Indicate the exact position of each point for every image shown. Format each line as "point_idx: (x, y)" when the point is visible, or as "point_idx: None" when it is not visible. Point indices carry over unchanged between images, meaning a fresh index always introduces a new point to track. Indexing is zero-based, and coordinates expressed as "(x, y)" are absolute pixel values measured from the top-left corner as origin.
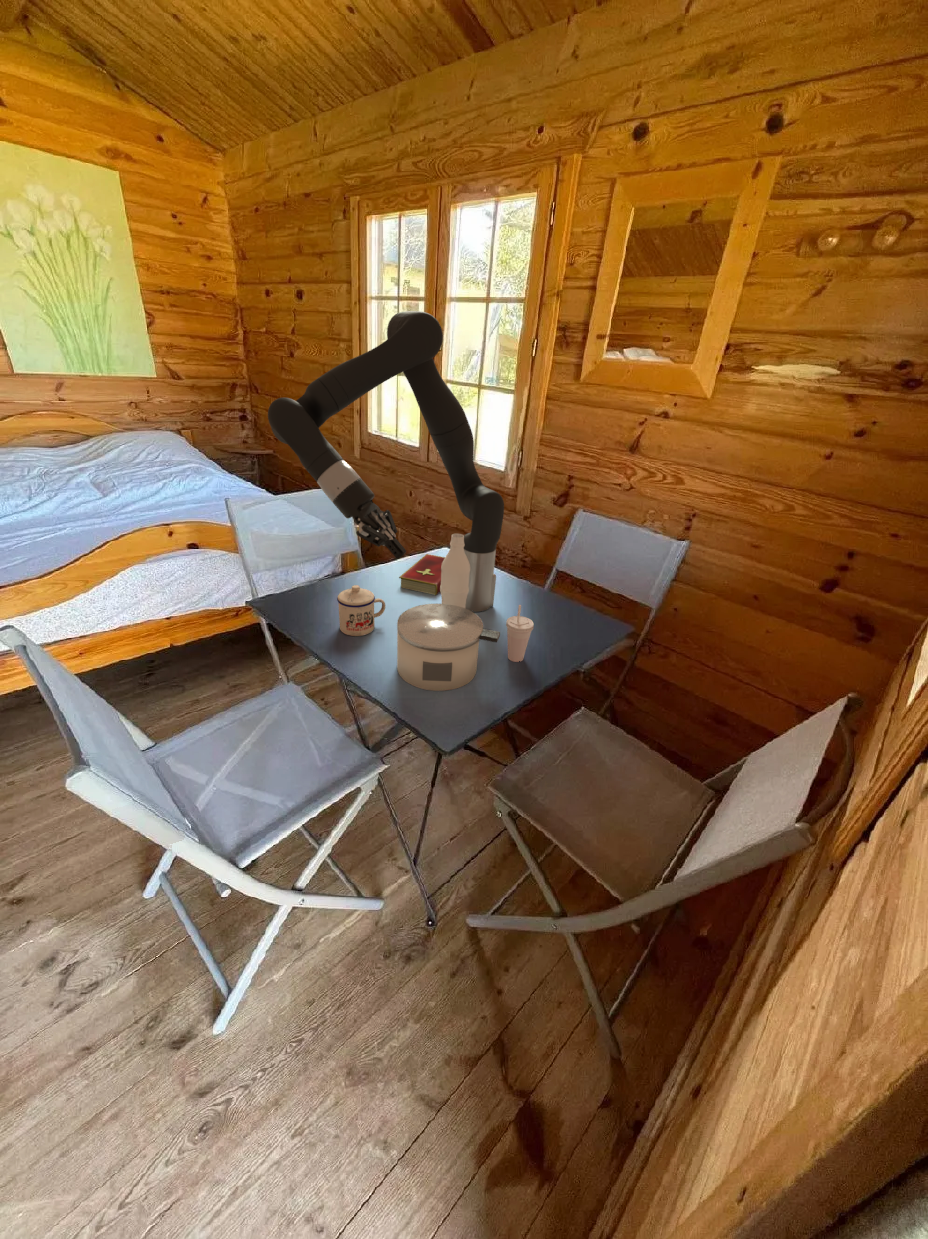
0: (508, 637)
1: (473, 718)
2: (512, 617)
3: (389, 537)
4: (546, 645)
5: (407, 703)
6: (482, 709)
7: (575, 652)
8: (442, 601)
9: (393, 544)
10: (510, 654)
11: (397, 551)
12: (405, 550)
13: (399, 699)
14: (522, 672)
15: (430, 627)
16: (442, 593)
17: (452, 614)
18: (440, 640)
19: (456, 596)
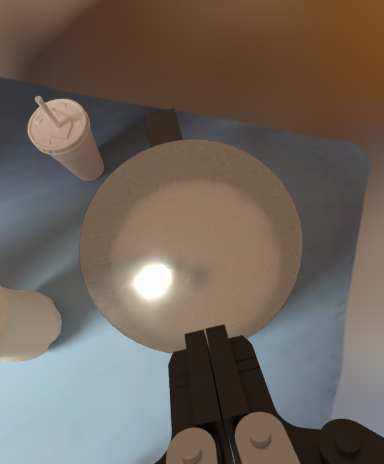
0: (86, 155)
1: (288, 147)
2: (42, 145)
3: (281, 435)
4: (23, 143)
5: (327, 251)
6: (260, 147)
7: (24, 99)
8: (12, 346)
9: (254, 395)
10: (99, 166)
11: (254, 352)
12: (189, 335)
13: (327, 270)
14: (129, 141)
15: (224, 243)
16: (6, 341)
17: (130, 235)
18: (263, 192)
19: (8, 295)
